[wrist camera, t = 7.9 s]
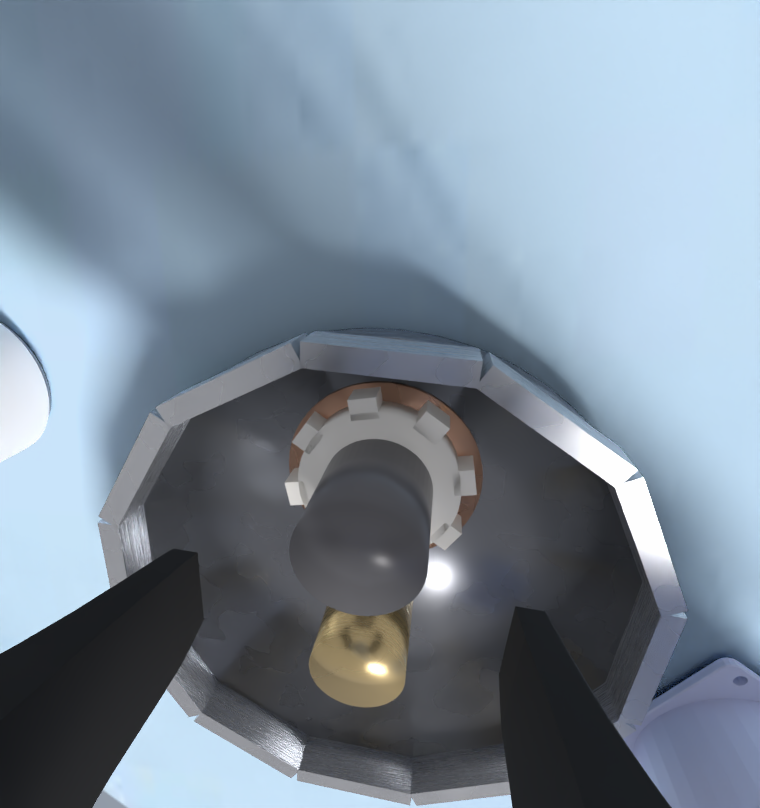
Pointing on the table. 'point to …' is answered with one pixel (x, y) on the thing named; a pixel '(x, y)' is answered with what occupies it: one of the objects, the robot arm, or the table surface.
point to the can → (20, 395)
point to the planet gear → (374, 501)
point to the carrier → (446, 580)
